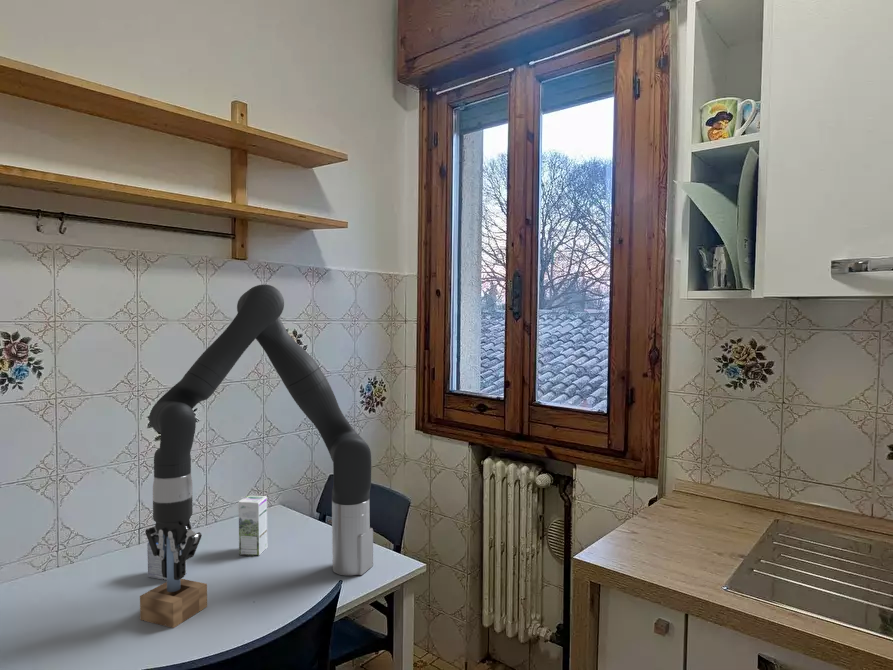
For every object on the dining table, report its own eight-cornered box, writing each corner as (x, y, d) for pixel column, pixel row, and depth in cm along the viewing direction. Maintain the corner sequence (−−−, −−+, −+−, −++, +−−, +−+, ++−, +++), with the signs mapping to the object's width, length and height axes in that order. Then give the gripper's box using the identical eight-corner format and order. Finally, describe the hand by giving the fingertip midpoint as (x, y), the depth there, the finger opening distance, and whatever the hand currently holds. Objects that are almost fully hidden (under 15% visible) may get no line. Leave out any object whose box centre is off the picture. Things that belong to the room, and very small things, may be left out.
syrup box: (268, 547, 153) (267, 494, 152) (259, 556, 147) (258, 501, 147) (248, 547, 153) (247, 494, 153) (238, 555, 147) (237, 501, 147)
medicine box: (187, 574, 137) (186, 539, 136) (172, 582, 132) (172, 546, 132) (162, 570, 139) (161, 535, 139) (147, 577, 135) (146, 542, 135)
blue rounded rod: (183, 587, 119) (182, 529, 118) (173, 592, 116) (172, 534, 116) (174, 585, 120) (173, 528, 119) (164, 590, 117) (163, 532, 117)
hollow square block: (207, 606, 121) (206, 583, 120) (173, 627, 112) (173, 603, 112) (175, 599, 124) (175, 577, 124) (140, 619, 115) (139, 595, 115)
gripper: (212, 494, 119) (212, 575, 119) (162, 487, 124) (163, 565, 124) (184, 504, 112) (184, 590, 112) (132, 497, 117) (133, 579, 117)
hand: (173, 576), depth 118 cm, fingers closed on blue rounded rod, 2 cm apart
